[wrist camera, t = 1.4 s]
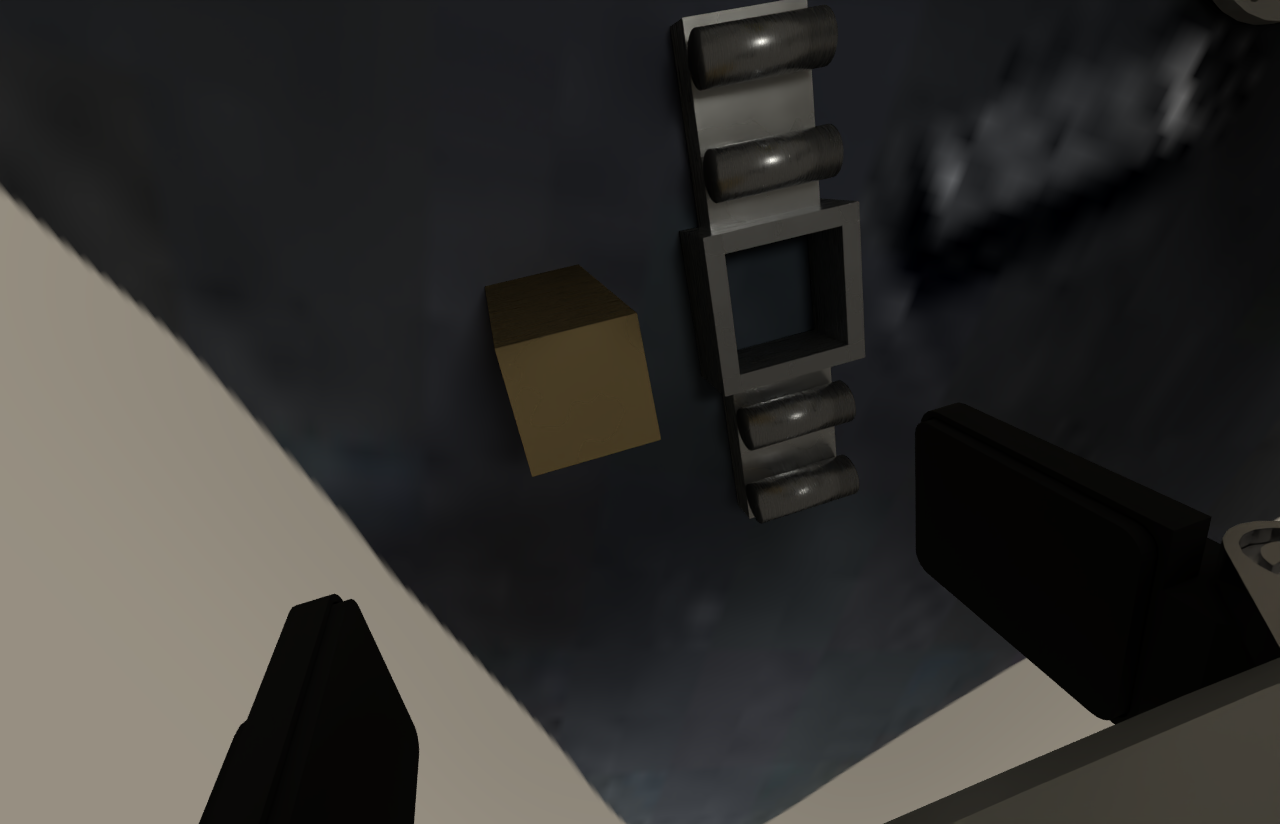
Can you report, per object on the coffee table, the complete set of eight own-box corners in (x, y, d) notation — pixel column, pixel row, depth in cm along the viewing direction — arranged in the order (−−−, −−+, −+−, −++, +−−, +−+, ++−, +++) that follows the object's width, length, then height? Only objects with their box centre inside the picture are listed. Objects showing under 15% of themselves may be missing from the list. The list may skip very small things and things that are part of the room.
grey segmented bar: (808, 2, 25) (858, -23, 22) (838, 472, 34) (876, 504, 31) (648, 30, 24) (676, 8, 21) (722, 509, 33) (749, 545, 29)
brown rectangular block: (578, 264, 26) (636, 313, 17) (598, 352, 28) (661, 439, 19) (484, 286, 26) (494, 348, 17) (510, 375, 27) (532, 476, 18)
